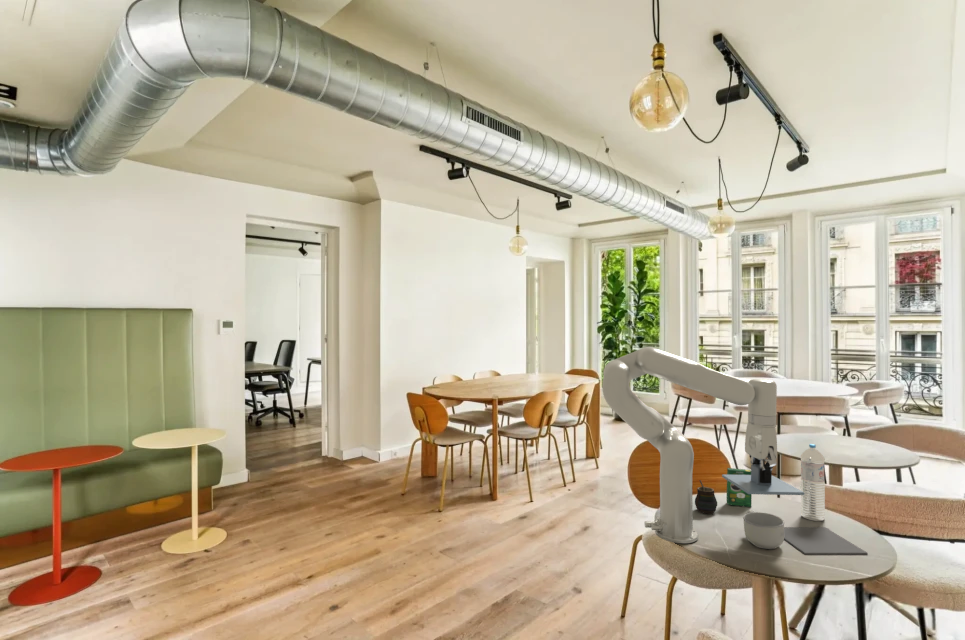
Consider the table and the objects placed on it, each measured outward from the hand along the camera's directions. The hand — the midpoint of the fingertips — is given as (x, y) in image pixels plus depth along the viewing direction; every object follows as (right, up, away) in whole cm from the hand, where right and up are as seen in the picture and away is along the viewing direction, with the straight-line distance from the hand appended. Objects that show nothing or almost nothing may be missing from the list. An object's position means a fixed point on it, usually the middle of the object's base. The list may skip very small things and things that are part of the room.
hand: (761, 479), depth 152 cm
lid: (0, -2, 0) cm, 2 cm away
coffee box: (+9, -19, +31) cm, 37 cm away
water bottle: (+28, -19, +19) cm, 39 cm away
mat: (+17, -19, +1) cm, 25 cm away
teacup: (0, -19, 0) cm, 19 cm away
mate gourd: (-6, -19, +25) cm, 32 cm away
